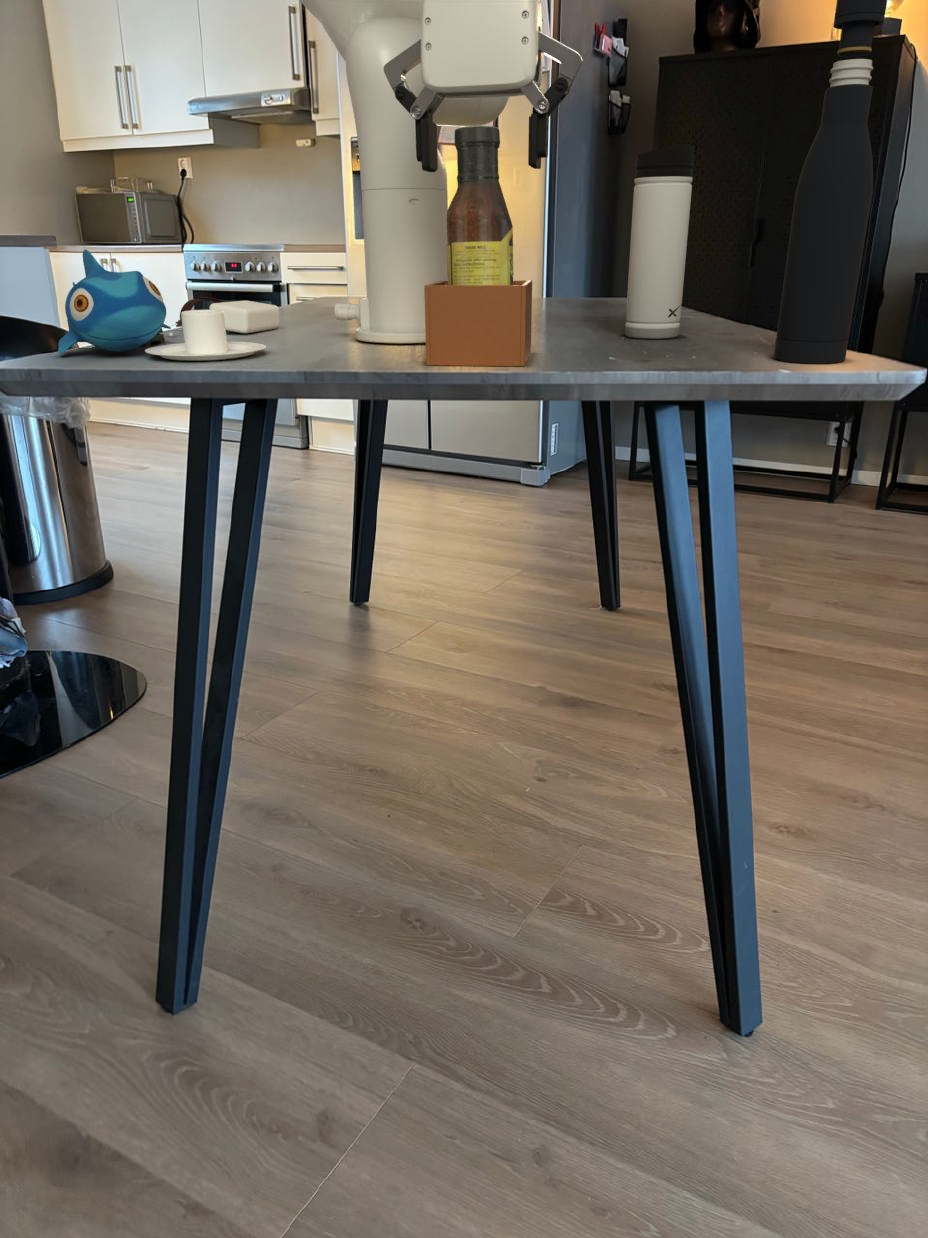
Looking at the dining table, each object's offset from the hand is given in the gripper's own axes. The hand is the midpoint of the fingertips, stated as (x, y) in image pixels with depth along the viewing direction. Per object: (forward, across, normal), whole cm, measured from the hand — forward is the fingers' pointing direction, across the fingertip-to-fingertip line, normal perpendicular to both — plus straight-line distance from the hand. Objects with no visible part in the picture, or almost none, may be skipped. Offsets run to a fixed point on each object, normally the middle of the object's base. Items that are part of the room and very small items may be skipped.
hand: (481, 169), depth 78 cm
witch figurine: (+16, +43, -21) cm, 51 cm away
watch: (+14, +42, -22) cm, 49 cm away
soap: (+13, +36, -23) cm, 44 cm away
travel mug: (+17, -16, -23) cm, 33 cm away
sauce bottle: (+17, 0, 0) cm, 17 cm away
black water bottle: (+17, -31, -5) cm, 35 cm away
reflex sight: (+16, +45, -8) cm, 48 cm away
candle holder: (+17, +29, +1) cm, 33 cm away
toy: (+16, +40, 0) cm, 43 cm away
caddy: (+16, 0, 0) cm, 17 cm away
